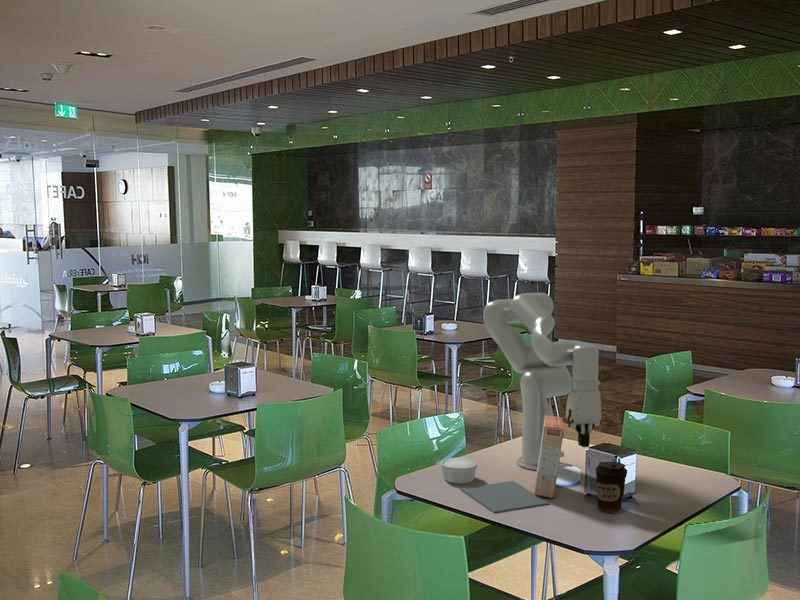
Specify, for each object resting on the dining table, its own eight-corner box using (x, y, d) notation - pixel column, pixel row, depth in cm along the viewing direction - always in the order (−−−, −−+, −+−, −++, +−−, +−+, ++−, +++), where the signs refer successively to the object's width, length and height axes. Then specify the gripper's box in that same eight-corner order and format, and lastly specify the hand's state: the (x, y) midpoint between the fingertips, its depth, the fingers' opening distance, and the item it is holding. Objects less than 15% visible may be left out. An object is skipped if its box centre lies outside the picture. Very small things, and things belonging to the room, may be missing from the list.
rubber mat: (512, 482, 239) (513, 480, 239) (549, 504, 221) (549, 502, 221) (460, 489, 232) (460, 488, 232) (493, 513, 214) (493, 511, 214)
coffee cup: (621, 518, 211) (622, 471, 210) (590, 512, 215) (592, 466, 214) (628, 507, 218) (630, 462, 217) (599, 502, 223) (600, 457, 221)
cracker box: (555, 499, 225) (564, 429, 222) (534, 496, 226) (543, 425, 223) (555, 483, 238) (564, 416, 236) (535, 480, 239) (544, 413, 237)
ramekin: (435, 474, 246) (436, 458, 246) (469, 472, 249) (469, 455, 248) (446, 486, 235) (447, 469, 235) (481, 483, 238) (482, 466, 238)
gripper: (597, 381, 240) (596, 440, 242) (556, 385, 234) (555, 445, 236) (613, 386, 233) (611, 446, 235) (571, 390, 227) (570, 452, 229)
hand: (583, 445), depth 235 cm, fingers closed
